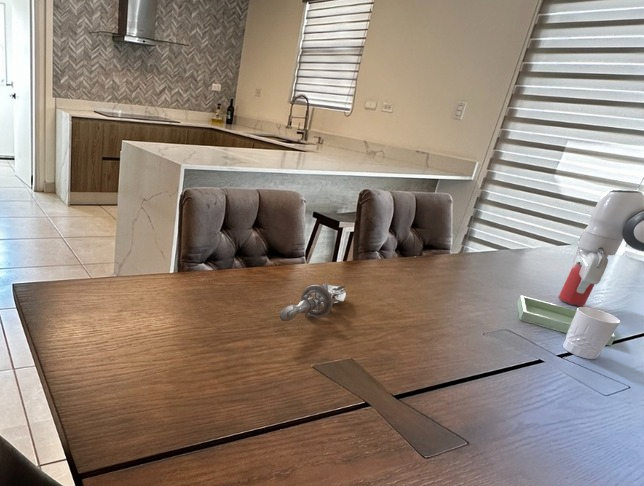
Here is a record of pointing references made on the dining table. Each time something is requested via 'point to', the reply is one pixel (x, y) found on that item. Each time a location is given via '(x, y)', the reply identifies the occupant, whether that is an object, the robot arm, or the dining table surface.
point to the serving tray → (547, 315)
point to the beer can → (574, 288)
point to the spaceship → (315, 301)
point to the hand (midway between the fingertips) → (577, 288)
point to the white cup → (589, 332)
